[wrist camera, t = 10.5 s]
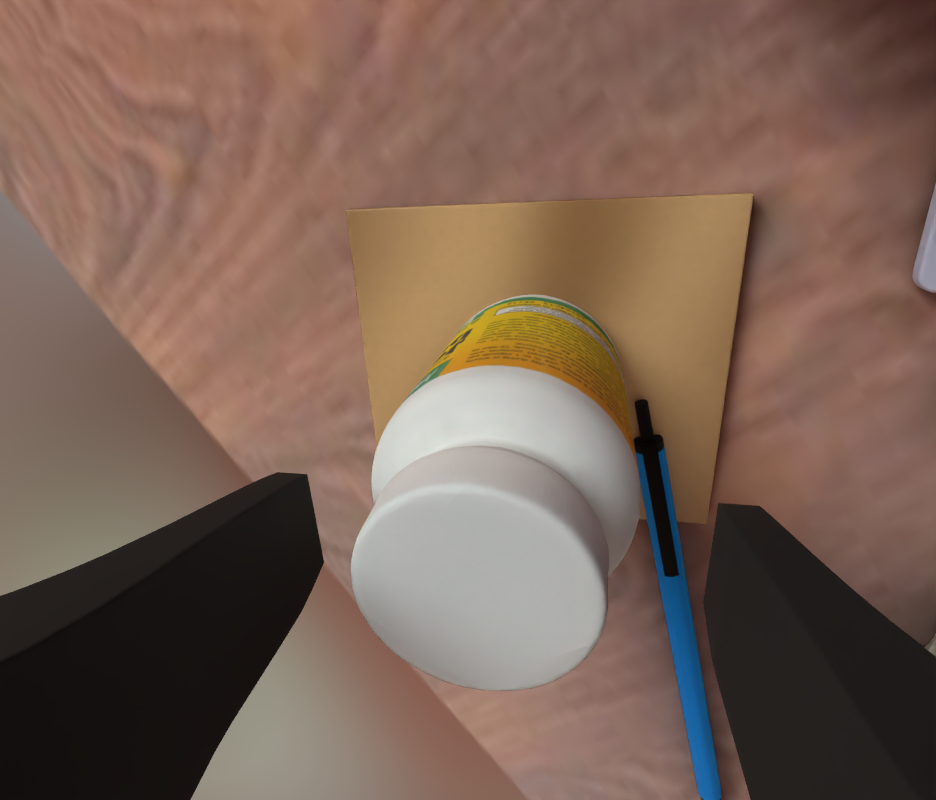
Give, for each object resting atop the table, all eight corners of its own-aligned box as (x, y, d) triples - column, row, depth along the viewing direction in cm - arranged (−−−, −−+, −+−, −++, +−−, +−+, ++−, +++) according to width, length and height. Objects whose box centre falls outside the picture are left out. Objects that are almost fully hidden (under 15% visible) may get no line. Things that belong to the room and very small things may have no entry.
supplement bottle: (588, 475, 18) (584, 768, 9) (432, 424, 18) (290, 660, 10) (652, 320, 16) (724, 521, 7) (471, 266, 16) (330, 394, 7)
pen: (655, 393, 17) (658, 408, 16) (724, 809, 23) (729, 838, 22) (624, 399, 17) (627, 413, 16) (701, 808, 23) (706, 837, 22)
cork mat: (750, 193, 14) (754, 193, 14) (705, 517, 18) (707, 524, 18) (350, 208, 17) (345, 209, 16) (386, 494, 20) (383, 500, 20)
